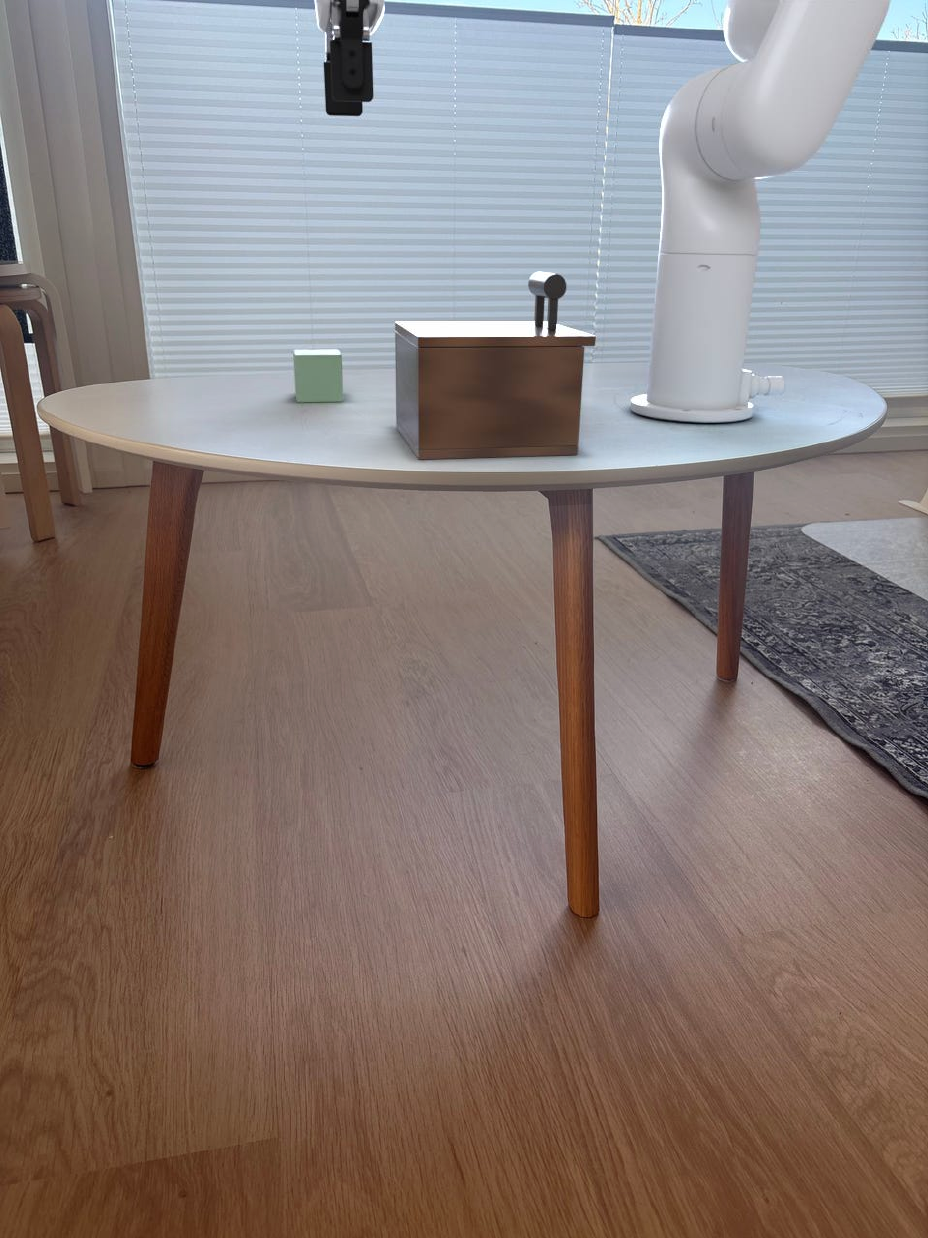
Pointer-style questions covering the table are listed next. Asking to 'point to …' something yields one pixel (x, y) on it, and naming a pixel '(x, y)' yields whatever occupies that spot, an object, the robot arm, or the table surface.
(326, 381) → the block
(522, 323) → the chest lid
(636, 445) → the table surface
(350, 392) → the table surface
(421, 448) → the chest
